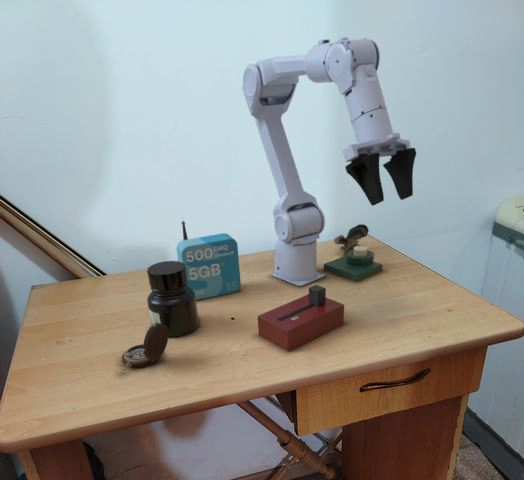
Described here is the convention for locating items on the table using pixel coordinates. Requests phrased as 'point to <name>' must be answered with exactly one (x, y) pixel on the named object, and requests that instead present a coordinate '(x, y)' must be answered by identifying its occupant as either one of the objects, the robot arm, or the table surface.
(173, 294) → the ink bottle
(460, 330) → the table surface
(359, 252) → the button
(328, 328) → the slider base
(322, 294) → the slider knob
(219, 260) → the data package
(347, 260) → the button block
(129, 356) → the compass
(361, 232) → the eagle figurine
